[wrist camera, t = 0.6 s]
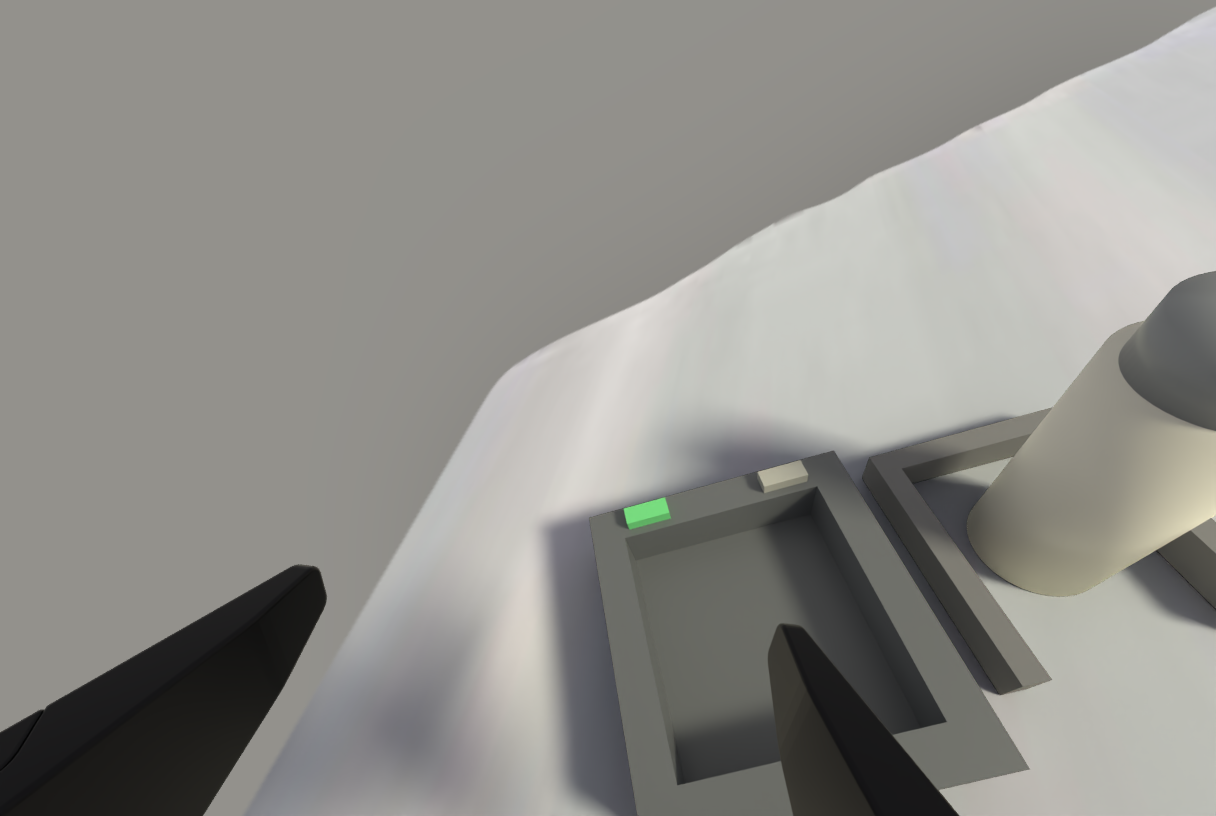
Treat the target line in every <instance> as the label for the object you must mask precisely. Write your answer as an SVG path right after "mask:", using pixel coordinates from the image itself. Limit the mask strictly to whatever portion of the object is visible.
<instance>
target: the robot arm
mask: <svg viewBox="0 0 1216 816" xmlns="http://www.w3.org/2000/svg"><path fill="white" fill-rule="evenodd" d="M326 600H327V595H326V590H325V587H324V583H323V579H322V576H321V572H320V570H319V569H318V568H317V567H315V566H309V565H294V566H292V567H290V568H288V569H286V570H284V571H283V572H281V573H279V574H278V575H276V576H274V577H272V578H270V579H269V580H267V581H265V582H263V583H262V584H260V585H258V586H256V587H255V588H253V589H251V590H249V591H248V592H246V593H244V594H242V595H241V596H239V597H237V598H235V599H234V600H232V601H230V602H228V603H227V604H225V605H223V606H221V607H220V608H218V609H216V610H214V611H213V612H211V613H209V614H207V615H206V616H204V617H202V618H201V619H199V620H197V621H195V622H193V623H192V624H190V625H188V626H186V627H185V628H183V629H181V630H179V631H178V632H176V633H174V634H172V635H170V636H169V637H167V638H165V639H164V640H162V641H160V642H158V643H156V644H155V645H153V646H151V647H149V648H148V649H146V650H144V651H142V652H141V653H139V654H137V655H135V656H134V657H132V658H130V659H128V660H127V661H125V662H123V663H121V664H120V665H118V666H116V667H114V668H113V669H111V670H109V671H107V672H106V673H104V674H102V675H100V676H99V677H97V678H95V679H93V680H92V681H90V682H88V683H87V684H85V685H83V686H81V687H79V688H78V689H76V690H74V691H72V692H71V693H69V694H67V695H65V696H64V697H62V698H60V699H58V700H56V701H55V702H53V703H51V704H49V705H48V706H47V707H46V709H45V710H39V711H37V712H35V713H33V714H32V715H30V716H28V717H26V718H25V719H23V720H21V721H20V722H18V723H16V724H14V725H12V726H11V727H9V728H7V729H5V730H4V731H2V732H0V816H203V815H204V813H205V812H206V810H207V808H208V807H209V805H210V804H211V802H212V800H213V799H214V797H215V796H216V794H217V793H218V791H219V789H220V788H221V786H222V785H223V783H224V781H225V780H226V778H227V777H228V775H229V774H230V772H231V770H232V769H233V767H234V766H235V764H236V762H237V761H238V759H239V758H240V756H241V754H242V753H243V751H244V750H245V748H246V746H247V745H248V743H249V742H250V740H251V739H252V737H253V735H254V734H255V732H256V731H257V729H258V727H259V726H260V724H261V723H262V721H263V720H264V718H265V716H266V715H267V713H268V712H269V710H270V708H271V707H272V705H273V704H274V702H275V700H276V699H277V697H278V695H279V694H280V692H281V690H282V689H283V687H284V685H285V683H286V682H287V680H288V678H289V676H290V674H291V672H292V670H293V669H294V667H295V665H296V663H297V661H298V658H299V657H300V655H301V653H302V651H303V649H304V647H305V645H306V643H307V641H308V639H309V637H310V635H311V633H312V631H313V629H314V627H315V625H316V623H317V621H318V620H319V617H320V615H321V614H322V612H323V610H324V607H325V605H326ZM768 669H769V677H770V685H771V693H772V701H773V709H774V717H775V726H776V734H777V741H778V748H779V754H780V759H781V764H782V769H783V773H784V778H785V782H786V786H787V791H788V795H789V800H790V804H791V809H792V813H793V816H959V815H958V813H957V812H956V811H955V810H954V809H953V807H952V806H951V805H950V804H949V803H948V801H947V800H946V799H945V798H944V797H943V795H942V794H941V793H940V792H939V790H938V789H937V788H936V787H935V786H934V784H933V783H932V782H931V781H930V780H929V778H928V777H927V776H926V775H925V774H924V772H923V771H922V770H921V769H920V768H919V766H918V765H917V764H916V763H915V762H914V760H913V759H912V758H911V757H910V755H909V754H908V753H907V752H906V751H905V749H904V748H903V747H902V746H901V745H900V743H899V742H898V741H897V740H896V739H895V737H894V736H893V735H892V734H891V733H890V731H889V730H888V729H887V728H886V727H885V725H884V724H883V723H882V722H881V721H880V719H879V718H878V717H877V716H876V714H875V713H874V712H873V711H872V710H871V708H870V707H869V706H868V705H867V704H866V702H865V701H864V700H863V699H862V698H861V696H860V695H859V694H858V693H857V692H856V690H855V689H854V688H853V687H852V686H851V684H850V683H849V682H848V681H847V679H846V678H845V677H844V676H843V675H842V673H841V672H840V671H839V670H838V669H837V667H836V666H835V665H834V664H833V663H832V661H831V660H830V659H829V658H828V657H827V655H826V654H825V653H824V652H823V651H822V649H821V648H820V647H819V646H818V644H817V643H816V642H815V641H814V640H813V638H812V637H811V636H810V635H809V634H808V632H807V631H806V630H805V629H804V628H803V627H802V626H800V625H795V624H787V623H780V624H779V625H778V626H777V628H776V631H775V633H774V636H773V639H772V642H771V645H770V647H769V651H768Z"/></svg>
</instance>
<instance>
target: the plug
mask: <svg viewBox="0 0 1216 816" xmlns="http://www.w3.org/2000/svg"><path fill="white" fill-rule="evenodd" d="M1215 515H1216V271H1214V272H1208V273H1204V274H1200V275H1196V276H1193V277H1191V278H1188V279H1186V280H1184V281H1182V282H1180V283H1179V284H1177V285H1176V286H1174V287H1173V288H1172V289H1171V290H1170V291H1169V293H1168V294H1167V295H1166V296H1165V297H1164V299H1163V300H1162V301H1161V302H1160V303H1159V304H1158V306H1157V307H1156V308H1155V309H1154V310H1153V312H1152V313H1151V314H1150V315H1149V316H1148V317H1147V319H1146V320H1145V321H1142V322H1137V323H1134V324H1131V325H1128V326H1126V327H1124V328H1122V329H1120V330H1118V331H1117V332H1115V333H1114V334H1112V335H1111V336H1110V337H1109V338H1108V339H1107V340H1106V341H1105V343H1104V344H1103V345H1102V346H1101V348H1100V349H1099V350H1098V351H1097V353H1096V354H1095V355H1094V356H1093V358H1092V359H1091V360H1090V361H1089V363H1088V364H1087V365H1086V366H1085V368H1084V369H1083V370H1082V371H1081V373H1080V374H1079V375H1078V376H1077V378H1076V379H1075V380H1074V381H1073V383H1072V384H1071V385H1070V386H1069V388H1068V389H1067V390H1066V391H1065V393H1064V394H1063V395H1062V397H1061V398H1060V399H1059V400H1058V402H1057V403H1056V404H1055V405H1054V407H1053V408H1052V409H1051V410H1050V412H1049V413H1048V414H1047V415H1046V417H1045V418H1044V419H1043V420H1042V422H1041V423H1040V424H1039V425H1038V427H1037V428H1036V429H1035V430H1034V432H1033V433H1032V434H1031V435H1030V437H1029V438H1028V439H1027V440H1026V442H1025V443H1024V444H1023V445H1022V447H1021V448H1020V449H1019V450H1018V452H1017V453H1016V454H1015V455H1014V457H1013V458H1012V459H1011V460H1010V462H1009V463H1008V464H1007V466H1006V467H1005V468H1004V469H1003V471H1002V472H1001V473H1000V474H999V476H998V477H997V478H996V479H995V481H994V482H993V483H992V484H991V486H990V487H989V488H988V489H987V491H986V492H985V493H984V494H983V496H982V497H981V498H980V499H979V501H978V502H977V503H976V504H975V506H974V507H973V508H972V510H971V511H970V513H969V516H968V519H967V533H968V537H969V540H970V543H971V545H972V547H973V549H974V550H975V552H976V553H977V555H978V556H979V557H980V559H981V560H982V561H983V562H984V563H985V564H986V565H987V566H988V567H989V568H990V569H991V570H992V571H994V572H995V573H996V574H997V575H999V576H1000V577H1002V578H1003V579H1005V580H1006V581H1008V582H1010V583H1012V584H1013V585H1016V586H1018V587H1020V588H1022V589H1025V590H1027V591H1030V592H1034V593H1037V594H1041V595H1047V596H1057V597H1063V596H1073V595H1077V594H1080V593H1083V592H1085V591H1087V590H1089V589H1091V588H1093V587H1094V586H1096V585H1098V584H1099V583H1101V582H1103V581H1105V580H1106V579H1108V578H1110V577H1111V576H1113V575H1115V574H1116V573H1118V572H1120V571H1122V570H1123V569H1125V568H1127V567H1128V566H1130V565H1132V564H1133V563H1135V562H1137V561H1139V560H1140V559H1142V558H1144V557H1145V556H1147V555H1149V554H1150V553H1152V552H1154V551H1156V550H1157V549H1159V548H1161V547H1162V546H1164V545H1166V544H1168V543H1169V542H1171V541H1173V540H1174V539H1176V538H1178V537H1179V536H1181V535H1183V534H1185V533H1186V532H1188V531H1190V530H1191V529H1193V528H1195V527H1196V526H1198V525H1200V524H1202V523H1203V522H1205V521H1207V520H1208V519H1210V518H1212V517H1213V516H1215Z"/></svg>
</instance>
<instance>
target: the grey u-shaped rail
mask: <svg viewBox="0 0 1216 816" xmlns="http://www.w3.org/2000/svg"><path fill="white" fill-rule="evenodd" d="M1052 408H1053V407H1052ZM1052 408H1049V409H1045V410H1041V411H1038V412H1034V413H1030V414H1027V415H1023V416H1019V417H1016V418H1012V419H1008V420H1005V421H1001V422H997V423H994V424H990V425H986V426H983V427H979V428H975V429H972V430H968V431H964V432H961V433H957V434H953V435H950V436H946V437H942V438H939V439H935V440H931V441H928V442H924V443H920V444H917V445H913V446H909V447H906V448H902V449H898V450H895V451H891V452H887V453H884V454H880V455H876V456H873V457H869V460H868V463H867V465H866V468H865V471H864V473H863V476H862V479H863V480H864V482H865V484H866V485H867V487H868V488H869V490H870V491H871V493H872V495H873V496H874V498H875V499H876V501H877V502H878V504H879V506H880V507H881V509H882V510H883V512H884V514H885V515H886V517H887V518H888V520H889V521H890V523H891V525H892V526H893V528H894V529H895V531H896V532H897V534H898V536H899V537H900V539H901V540H902V542H903V543H904V545H905V547H906V548H907V550H908V551H909V553H910V555H911V556H912V558H913V559H914V561H915V562H916V564H917V566H918V567H919V569H920V570H921V572H922V573H923V575H924V577H925V578H926V580H927V581H928V583H929V584H930V586H931V588H932V589H933V591H934V592H935V594H936V595H937V597H938V599H939V600H940V602H941V603H942V605H943V607H944V608H945V610H946V611H947V613H948V614H949V616H950V618H951V619H952V621H953V622H954V624H955V625H956V627H957V629H958V630H959V632H960V633H961V635H962V636H963V638H964V640H965V641H966V643H967V644H968V646H969V647H970V649H971V651H972V652H973V654H974V655H975V657H976V659H977V660H978V662H979V663H980V665H981V666H982V668H983V670H984V671H985V673H986V674H987V676H988V677H989V679H990V681H991V682H992V684H993V685H994V687H995V688H996V690H997V692H998V693H999V695H1004V694H1008V693H1012V692H1016V691H1020V690H1025V689H1028V688H1031V687H1034V686H1036V685H1039V684H1042V683H1045V682H1047V681H1050V680H1052V679H1051V678H1050V676H1049V675H1048V673H1047V672H1046V671H1045V669H1044V668H1043V666H1042V665H1041V664H1040V662H1039V661H1038V659H1037V658H1036V657H1035V655H1034V654H1033V652H1032V651H1031V649H1030V648H1029V647H1028V645H1027V644H1026V642H1025V641H1024V640H1023V638H1022V637H1021V635H1020V634H1019V633H1018V631H1017V630H1016V628H1015V627H1014V626H1013V624H1012V623H1011V621H1010V620H1009V619H1008V617H1007V616H1006V614H1005V613H1004V612H1003V610H1002V609H1001V607H1000V606H999V605H998V603H997V602H996V600H995V599H994V598H993V596H992V595H991V593H990V592H989V591H988V589H987V588H986V586H985V585H984V584H983V582H982V581H981V579H980V578H979V577H978V575H977V574H976V572H975V571H974V570H973V568H972V567H971V565H970V564H969V563H968V561H967V560H966V558H965V557H964V555H963V554H962V553H961V551H960V550H959V548H958V547H957V546H956V544H955V543H954V541H953V540H952V539H951V537H950V536H949V534H948V533H947V532H946V530H945V529H944V527H943V526H942V525H941V523H940V522H939V520H938V519H937V518H936V516H935V515H934V513H933V512H932V511H931V509H930V508H929V506H928V505H927V504H926V502H925V501H924V499H923V498H922V497H921V495H920V494H919V492H918V491H917V490H916V488H915V487H914V485H913V484H912V483H916V482H920V481H924V480H927V479H931V478H935V477H939V476H942V475H946V474H950V473H953V472H957V471H961V470H965V469H968V468H972V467H976V466H980V465H983V464H987V463H991V462H995V461H998V460H1002V459H1006V458H1010V457H1013V456H1014V455H1015V454H1016V453H1017V452H1018V450H1019V449H1020V448H1021V447H1022V445H1023V444H1024V443H1025V442H1026V440H1027V439H1028V438H1029V437H1030V435H1031V434H1032V433H1033V432H1034V430H1035V429H1036V428H1037V427H1038V425H1039V424H1040V423H1041V422H1042V420H1043V419H1044V418H1045V417H1046V415H1047V414H1048V413H1049V412H1050V410H1051V409H1052ZM1157 551H1158V552H1159V553H1160V554H1161V555H1162V556H1163V557H1164V558H1165V559H1166V560H1167V561H1168V562H1169V563H1170V564H1171V565H1172V566H1173V567H1174V568H1175V569H1176V570H1177V571H1178V572H1179V573H1180V574H1181V575H1182V576H1183V577H1184V578H1185V579H1186V580H1187V581H1188V582H1189V583H1190V584H1191V585H1192V586H1193V587H1194V588H1195V589H1196V590H1197V591H1198V592H1199V593H1200V594H1201V595H1202V596H1203V597H1204V598H1205V599H1206V600H1207V601H1208V602H1209V603H1210V604H1211V605H1212V606H1213V607H1214V608H1215V609H1216V522H1215V521H1214V520H1213V519H1212V518H1210V519H1208V520H1207V521H1205V522H1203V523H1202V524H1200V525H1198V526H1196V527H1195V528H1193V529H1191V530H1190V531H1188V532H1186V533H1185V534H1183V535H1181V536H1179V537H1178V538H1176V539H1174V540H1173V541H1171V542H1169V543H1168V544H1166V545H1164V546H1162V547H1161V548H1159V549H1157Z"/></svg>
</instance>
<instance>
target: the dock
mask: <svg viewBox="0 0 1216 816" xmlns="http://www.w3.org/2000/svg"><path fill="white" fill-rule="evenodd" d="M589 521H590V527H591V533H592V539H593V545H594V552H595V558H596V564H597V570H598V576H599V582H600V589H601V595H602V601H603V607H604V613H605V619H606V626H607V632H608V638H609V644H610V650H611V657H612V663H613V669H614V675H615V681H616V687H617V694H618V700H619V706H620V712H621V718H622V724H623V731H624V737H625V743H626V749H627V755H628V761H629V768H630V774H631V780H632V786H633V792H634V798H635V805H636V811H637V816H793V813H792V809H791V804H790V800H789V795H788V791H787V786H786V782H785V778H784V773H783V769H782V764H781V759H780V754H779V748H778V741H777V734H776V726H775V717H774V709H773V701H772V693H771V685H770V677H769V669H768V651H769V647H770V645H771V642H772V639H773V636H774V633H775V631H776V628H777V626H778V625H779V624H780V623H787V624H795V625H800V626H802V627H803V628H804V629H805V630H806V631H807V632H808V634H809V635H810V636H811V637H812V638H813V640H814V641H815V642H816V643H817V644H818V646H819V647H820V648H821V649H822V651H823V652H824V653H825V654H826V655H827V657H828V658H829V659H830V660H831V661H832V663H833V664H834V665H835V666H836V667H837V669H838V670H839V671H840V672H841V673H842V675H843V676H844V677H845V678H846V679H847V681H848V682H849V683H850V684H851V686H852V687H853V688H854V689H855V690H856V692H857V693H858V694H859V695H860V696H861V698H862V699H863V700H864V701H865V702H866V704H867V705H868V706H869V707H870V708H871V710H872V711H873V712H874V713H875V714H876V716H877V717H878V718H879V719H880V721H881V722H882V723H883V724H884V725H885V727H886V728H887V729H888V730H889V731H890V733H891V734H892V735H893V736H894V737H895V739H896V740H897V741H898V742H899V743H900V745H901V746H902V747H903V748H904V749H905V751H906V752H907V753H908V754H909V755H910V757H911V758H912V759H913V760H914V762H915V763H916V764H917V765H918V766H919V768H920V769H921V770H922V771H923V772H924V774H925V775H926V776H927V777H928V778H929V780H930V781H931V782H932V783H933V784H934V786H935V787H936V788H937V789H938V790H940V789H945V788H949V787H954V786H958V785H962V784H967V783H971V782H976V781H980V780H984V779H989V778H993V777H998V776H1002V775H1007V774H1011V773H1015V772H1020V771H1024V770H1029V767H1028V765H1027V764H1026V762H1025V760H1024V759H1023V757H1022V756H1021V754H1020V752H1019V751H1018V749H1017V747H1016V746H1015V744H1014V743H1013V741H1012V739H1011V738H1010V736H1009V734H1008V733H1007V731H1006V730H1005V728H1004V726H1003V725H1002V723H1001V721H1000V720H999V718H998V717H997V715H996V713H995V712H994V710H993V708H992V707H991V705H990V704H989V702H988V700H987V699H986V697H985V695H984V694H983V692H982V691H981V689H980V687H979V686H978V684H977V682H976V681H975V679H974V678H973V676H972V674H971V673H970V671H969V669H968V668H967V666H966V665H965V663H964V661H963V660H962V658H961V656H960V655H959V653H958V652H957V650H956V648H955V647H954V645H953V643H952V642H951V640H950V639H949V637H948V635H947V634H946V632H945V630H944V629H943V627H942V626H941V624H940V622H939V621H938V619H937V617H936V616H935V614H934V613H933V611H932V609H931V608H930V606H929V604H928V603H927V601H926V600H925V598H924V596H923V595H922V593H921V591H920V590H919V588H918V587H917V585H916V583H915V582H914V580H913V578H912V577H911V575H910V574H909V572H908V570H907V569H906V567H905V565H904V564H903V562H902V561H901V559H900V557H899V556H898V554H897V552H896V551H895V549H894V548H893V546H892V544H891V543H890V541H889V539H888V538H887V536H886V535H885V533H884V531H883V530H882V528H881V526H880V525H879V523H878V522H877V520H876V518H875V517H874V515H873V513H872V512H871V510H870V509H869V507H868V505H867V504H866V502H865V500H864V499H863V497H862V496H861V494H860V492H859V491H858V489H857V487H856V486H855V484H854V483H853V481H852V479H851V478H850V476H849V474H848V473H847V471H846V470H845V468H844V466H843V465H842V463H841V461H840V460H839V458H838V457H837V455H836V453H835V452H834V451H830V452H827V453H823V454H819V455H816V456H812V457H808V458H805V459H801V460H798V461H794V462H790V463H787V464H783V465H779V466H776V467H772V468H768V469H765V470H761V471H758V472H754V473H750V474H747V475H743V476H739V477H736V478H732V479H728V480H725V481H721V482H717V483H714V484H710V485H707V486H703V487H699V488H696V489H692V490H688V491H685V492H681V493H677V494H674V495H670V496H667V497H663V498H659V499H656V500H652V501H648V502H645V503H641V504H637V505H634V506H630V507H626V508H623V509H619V510H616V511H612V512H608V513H605V514H601V515H597V516H594V517H590V518H589Z"/></svg>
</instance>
